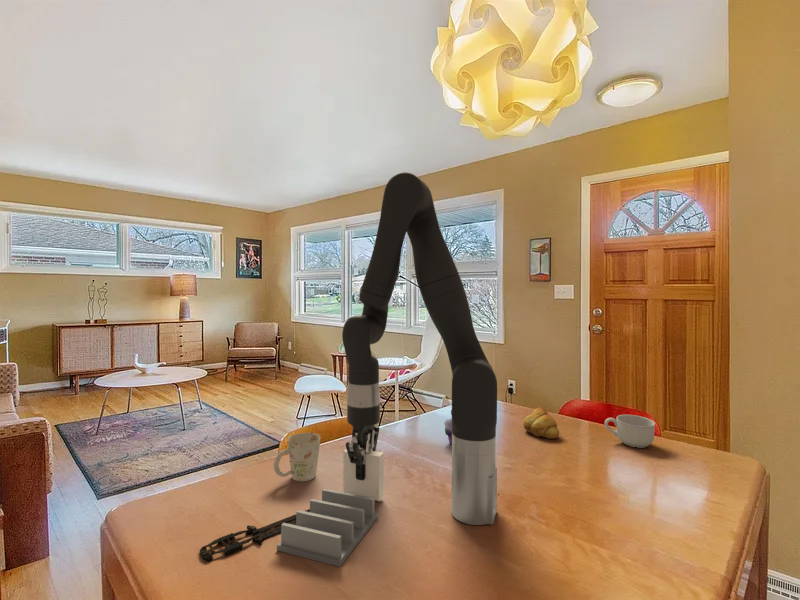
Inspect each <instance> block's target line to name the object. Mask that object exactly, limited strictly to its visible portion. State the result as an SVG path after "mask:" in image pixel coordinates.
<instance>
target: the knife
mask: <svg viewBox="0 0 800 600" xmlns="http://www.w3.org/2000/svg"><path fill="white" fill-rule="evenodd" d="M305 511H306V512H310V508H309V509H306V510H305ZM283 523H288V524H292V525H296V513H295V514H293V515H291V516H287V517H285V518H283V519H280V520H277V521H275V522H273V523H270V524H267V525H264V526H262V527H260V528H257V526H255V525H246V530H240V531H237V532H235V533H232V532H231V533H228V534H225V535H223V536H221V537H218V538H216V539H214V540H213V541H211V542H209V543H207V544H206V545H204V546H201V547H200V549H199V554H200V557H202V560H203V561H204V562H205V563H209V562H211V561H213V560H214V559H213V557H214V556H215V555H216V554H222V553H223V554H224V557H227V556H228V557H229V556H230V555H233V554H236V553H238V552H237V551H239V550H241V551H242V550H243V549H244V545H246V544H248V543H250V542H251V543H253V542H254V544H256V543H257V544H258V545H259V546H262V542H264V541H265V540H264V539H265V538H268V537H270V536H273V535H275V534H277V533H281V525H282V524H283ZM242 534H245V536H248V535H249V536H251V535H252V537H249V538H247V539H244V540H242V541H238V540H237V538H236V537H238V536H241V535H242ZM230 540H233V542H231V541H230ZM226 542H227V543H228V545H227V543H226ZM220 544H222V545H223V547H224V548H221V549H218V550H217V551H216V550H215V549H214V547H213V546H214V545H220ZM207 548H210V551H208V549H207ZM242 548H243V549H242ZM235 552H236V553H235ZM239 552H240V551H239Z"/></svg>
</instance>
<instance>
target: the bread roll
mask: <svg viewBox="0 0 800 600" xmlns="http://www.w3.org/2000/svg"><path fill="white" fill-rule="evenodd" d="M522 425H523V428H524V429H525V431H527V432H528V433H530V434H532V435H534V436H536V437H540V436H542V437H543V438H545V437H546V439H552V440H553V439H556V438H558V437H559V435H560V429H559V428H558V422H557V421H556V419H554V417H552V416H551V415H549V413H548V412H547V410H546V409H545V408H543V406H542V407H540V406H539V407H537V408H535V409H534V410H533V411H532V413H531V414H529V415H527V416H525V418H524V420H523V423H522Z"/></svg>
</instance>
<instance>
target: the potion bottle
mask: <svg viewBox="0 0 800 600" xmlns="http://www.w3.org/2000/svg"><path fill="white" fill-rule="evenodd" d="M450 415H451V416H452V409H451V410H450ZM444 435H446V436H447V437H448V438H447V439H448V442H449V443H450V444H451V445H452V418H447V419H445V421H444ZM449 443H448V444H449ZM451 445H450V446H451Z"/></svg>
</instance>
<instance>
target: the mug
mask: <svg viewBox="0 0 800 600" xmlns="http://www.w3.org/2000/svg"><path fill="white" fill-rule="evenodd" d="M286 442H287V448H284V449H282V450H281V451H279V452H278V454H277V455H276V457H275V459H274V462H273V470H274V472H275V474H276V475H277V476H280V477H288V476H289V475H291V478H292V480H293V481H295V482H303V483H304V482H308V481H312V480H313V479H315V478H316V476H317V470H318V461H319V456H320V455H319V454H320V447H321V436H320V434H318V433H314V432H299V433H296V434H292V435H290V436H289V437H288V438H287V441H286ZM285 455H288V457H289V465H290V470H288V471H286V472H283V471H281V469H280V467H279V463H280V460H281V458H282V457H283V456H285Z"/></svg>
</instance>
